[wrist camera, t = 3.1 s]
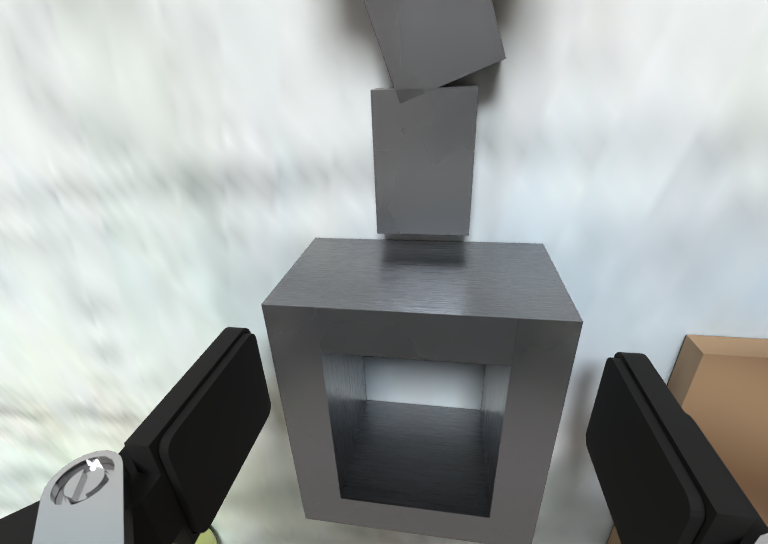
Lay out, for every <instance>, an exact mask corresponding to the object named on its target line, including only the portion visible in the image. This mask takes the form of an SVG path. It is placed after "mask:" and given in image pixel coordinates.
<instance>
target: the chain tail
mask: <svg viewBox="0 0 768 544" xmlns="http://www.w3.org/2000/svg"><path fill="white" fill-rule="evenodd" d="M364 3H365V6H366V9H367V11H368V14H369V17H370V20H371V23H372V26H373V28H374V31H375V34H376V37H377V40H378V43H379V45H380V48H381V51H382V54H383V57H384V60H385V62H386V65H387V68H388V71H389V74H390V77H391V79H392V82H393V85H394V88H377V89H373V90H371V107H372V129H373V150H374V171H375V193H376V214H377V233H382V234H425V235H468V236H469V225H470V210H471V194H472V179H473V164H474V149H475V134H476V119H477V103H478V88H479V86H477V85H463V86H443V85H445V84H448V83H450V82H452V81H455V80H457V79H459V78H462V77H464V76H466V75H469V74H471V73H473V72H476V71H478V70H480V69H483V68H485V67H487V66H490V65H492V64H494V63H497V62H499V61H501V60H504V59H506V57H505V53H504V49H503V44H502V40H501V36H500V32H499V28H498V24H497V20H496V16H495V12H494V7H493V3H492V0H364Z"/></svg>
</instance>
